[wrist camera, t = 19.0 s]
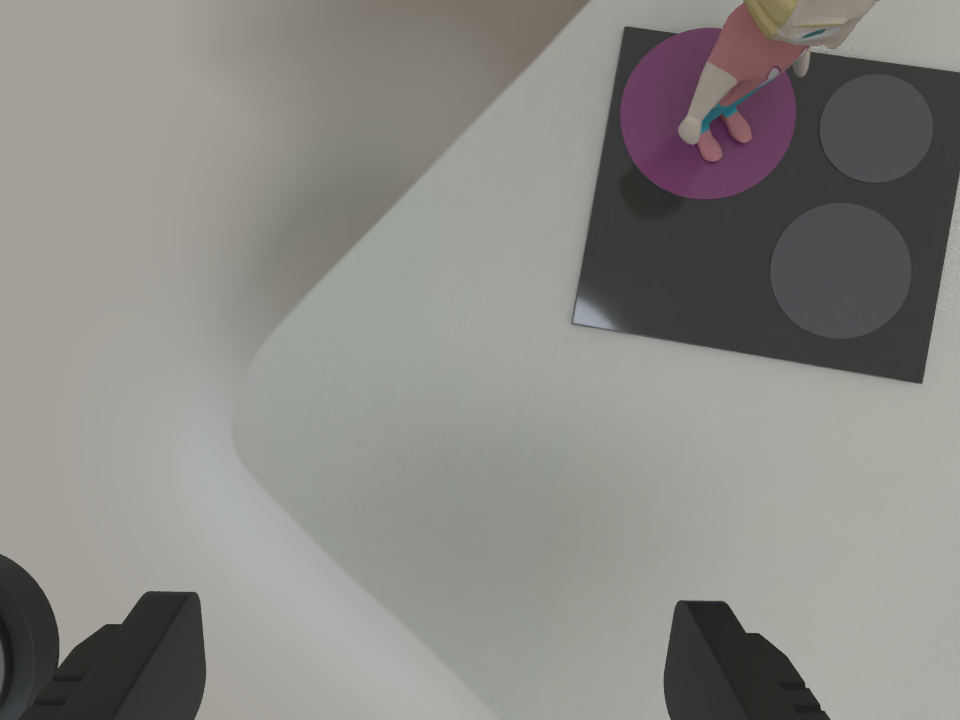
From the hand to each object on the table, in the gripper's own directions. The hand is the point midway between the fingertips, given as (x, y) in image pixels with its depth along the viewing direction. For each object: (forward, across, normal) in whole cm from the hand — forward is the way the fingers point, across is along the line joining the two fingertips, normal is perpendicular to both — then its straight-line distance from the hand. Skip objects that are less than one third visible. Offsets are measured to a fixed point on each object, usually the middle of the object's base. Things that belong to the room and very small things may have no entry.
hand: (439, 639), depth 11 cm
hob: (+25, -17, -7) cm, 31 cm away
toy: (+26, -13, -11) cm, 31 cm away
